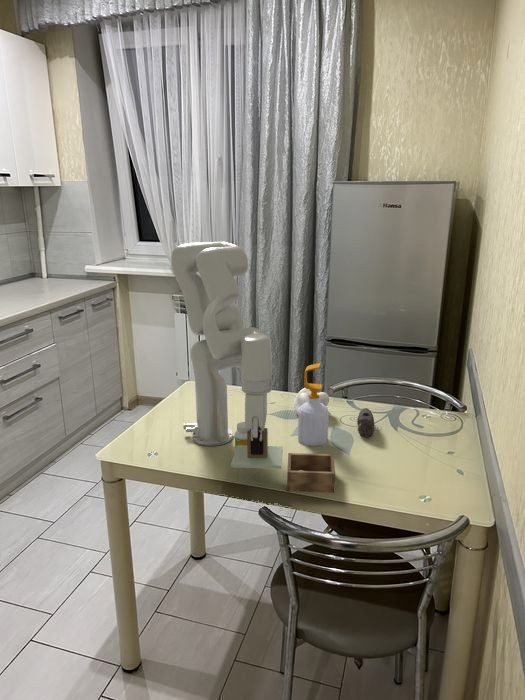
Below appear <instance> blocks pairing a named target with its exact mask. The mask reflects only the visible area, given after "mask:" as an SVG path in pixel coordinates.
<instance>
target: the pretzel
mask: <svg viewBox="0 0 525 700" xmlns="http://www.w3.org/2000/svg"><path fill="white" fill-rule="evenodd" d="M309 394H311V391H310V389H306V388H305V387H303V388H302V389H301V390H299V392H298V393H297V394H296V397H295V398H294V402H293V408H294V412H295V414H296V415H297V417H298V416H299V408H300V406H301V405H303V404H304V403H306V402H308V396H309ZM317 394H319V402H320V403H323V404H324V405H325V406H326V407H327V406H328V405H329V402H330V396H329V395H328V393H327V392H323V391H321V392H317Z"/></svg>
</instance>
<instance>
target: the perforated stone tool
mask: <svg viewBox="0 0 525 700" xmlns="http://www.w3.org/2000/svg"><path fill="white" fill-rule="evenodd" d="M357 432H358V434H359V436H360V437H363V438H368V439H369V438H372V437H373V436H374V433H375V419H374V415H373V413H372V410H370V409H369V408H367V407H364V408H362V409H361V410H360V411H359V413H358V415H357Z"/></svg>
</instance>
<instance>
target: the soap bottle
mask: <svg viewBox="0 0 525 700" xmlns="http://www.w3.org/2000/svg"><path fill="white" fill-rule="evenodd" d="M320 368H321V362H318V363H313V364H310V365H308V366H306V368H305V370H304V374H303V375H304V376H303V388H306V389H310V391H311V394H309V396H308V402H306V403H304V404H303V405H301V406H300V408H299V416H298V415H297V417H298V420H297V421H298V423H297V424H298V425H297V426H298V430H297V431H298V432H297V436H298V437H297V439H298V442H299V443H301V444H302V445H304V446H308V447H319V446H324V445H325V444H327V442H328V441H329V416H330V415H329V414H330V413H329V412H330V411H329V409H328V407H327V406H325V405H324V404H323V403H320V402H319V394H317V393H318V392H319V391H321V390H322V389H323V388H322V387H323V384H321V383H309V382H308V372H310V371H313V370H317V369H320Z"/></svg>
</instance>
